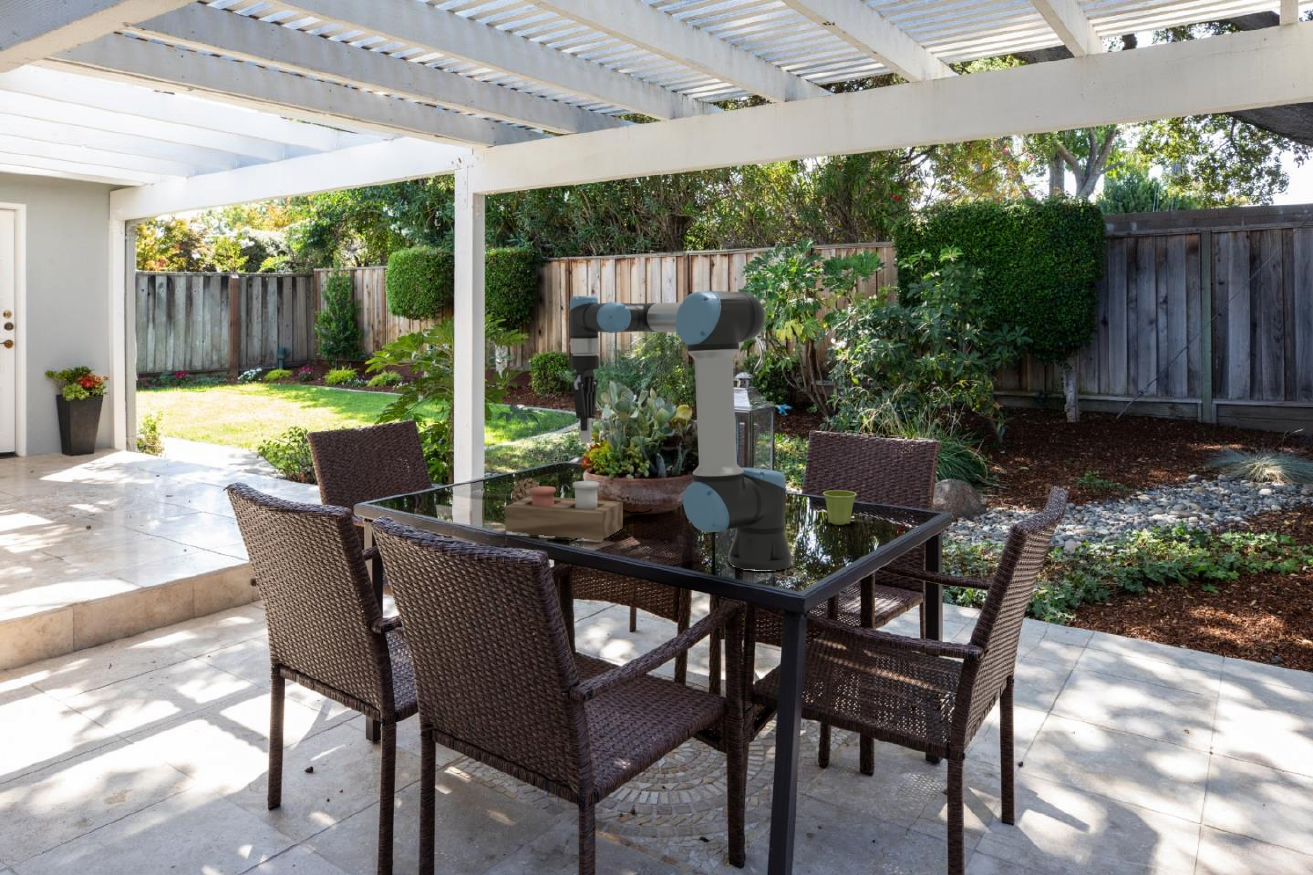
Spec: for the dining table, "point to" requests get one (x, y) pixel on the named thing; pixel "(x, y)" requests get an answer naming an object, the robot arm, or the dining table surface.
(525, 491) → the pine cone
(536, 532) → the brown wooden plug box
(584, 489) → the grey plug
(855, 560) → the dining table surface
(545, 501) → the red plug
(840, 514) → the plant pot
